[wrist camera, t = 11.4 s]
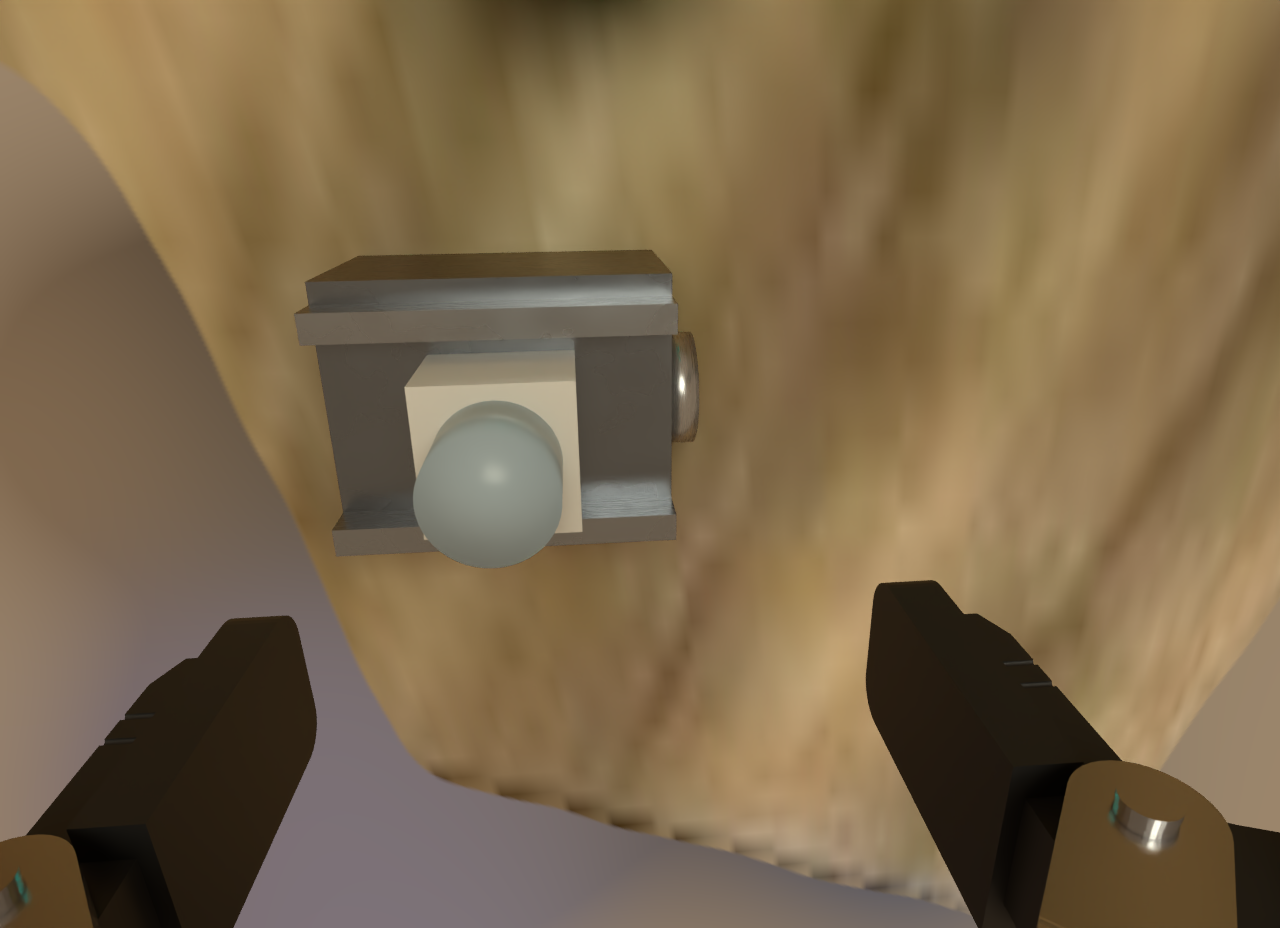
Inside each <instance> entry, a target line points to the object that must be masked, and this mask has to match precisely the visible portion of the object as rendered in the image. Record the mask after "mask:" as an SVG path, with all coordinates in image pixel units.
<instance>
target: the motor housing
mask: <svg viewBox="0 0 1280 928" xmlns="http://www.w3.org/2000/svg"><path fill="white" fill-rule="evenodd" d="M305 285H306V291H307V297H308V303H309V305H308V306H307V307H305V308H303V309H302V310H300V311H298V312H296V313H295V314H294V316H295V322H296V327H297V333H298V339H299V345H300V346H302V345H316V351H317V357H318V363H319V369H320V375H321V381H322V387H323V393H324V399H325V405H326V411H327V417H328V423H329V429H330V435H331V441H332V447H333V453H334V459H335V465H336V471H337V477H338V483H339V489H340V495H341V501H342V507H343V514H342V515H341V517H340V519H339V520H338V522H337V523H336V525H335V527H334V528H333V530H332V535H333V540H334V546H335V552H336V556H355V555H375V554H395V553H416V552H436V551H439V550H438V549H437V548H435V547H434V546H433V545H432V544H431V543H430V541H429V540H424V535H423V532H422V530H421V528H420V526H419V525H418V522H417V519H416V516H415V512H414V507H413V491H414V486H415V482H416V473H415V466H414V458H413V450H412V442H411V435H410V427H409V419H408V411H407V404H406V396H405V388H404V387H405V386H406V384H407V383H408V381H409V380H410V379H411V377H412V376H413V374H414V373H415V371H416V370H417V369H418V367H419V366H420V364H421V363H422V361H423V360H424V359H425V357H426V356H427V355H439V354H469V353H498V352H528V351H558V350H574V351H575V373H576V395H577V417H578V439H579V461H580V483H581V508H582V532H571V533H554V535H553V536H552V538H551V539H550V541H549V542H548V543H547V544H546V545H545V546H557V545H577V544H597V543H618V542H638V541H658V540H676V512H675V508H674V505H673V502H672V498H671V443H672V442H693V441H694V440H695V437H696V433H697V426H698V415H699V378H698V364H697V355H696V348H695V343H694V339H693V336H692V334H691V332H678V303H677V302H676V301H675V299H674V298H673V296H672V273H671V272H670V270H669V269H668V268H667V267H666V266H665V265H664V264H663V262H662V261H661V260H660V259H659V258H658V257H657V256H656V254H655V253H654V252H653V251H652V250H621V251H573V252H526V253H478V254H431V255H383V256H357V257H355V258H353V259H351V260H349V261H347V262H345V263H343V264H341V265H339V266H337V267H335V268H333V269H331V270H329V271H327V272H325V273H323V274H320V275H318V276H316V277H314V278H312V279H310V280H308V281H306V282H305Z"/></svg>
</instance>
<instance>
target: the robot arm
mask: <svg viewBox="0 0 1280 928" xmlns="http://www.w3.org/2000/svg"><path fill="white" fill-rule="evenodd" d="M866 691H867V698H868V704H869V708H870V711H871V715H872V718H873V720H874V722H875V724H876V726H877V728H878V730H879V732H880V734H881V736H882V738H883V740H884V742H885V744H886V746H887V748H888V750H889V752H890V754H891V756H892V758H893V760H894V762H895V764H896V766H897V768H898V770H899V772H900V774H901V776H902V778H903V780H904V782H905V784H906V786H907V788H908V790H909V792H910V794H911V796H912V798H913V800H914V802H915V804H916V806H917V808H918V810H919V812H920V814H921V816H922V818H923V820H924V822H925V824H926V826H927V828H928V829H929V831H930V833H931V835H932V837H933V839H934V841H935V843H936V845H937V847H938V849H939V851H940V853H941V855H942V857H943V859H944V861H945V863H946V865H947V867H948V869H949V871H950V873H951V875H952V877H953V879H954V881H955V883H956V885H957V887H958V889H959V891H960V893H961V895H962V897H963V899H964V901H965V903H966V905H967V907H968V909H969V911H970V913H971V915H972V917H973V919H974V921H975V923H976V925H977V927H978V928H1280V833H1279V832H1273V831H1268V830H1262V829H1256V828H1251V827H1245V826H1239V825H1235V824H1230V823H1227V822H1226V820H1225V819H1224V817H1223V816H1222V814H1221V813H1220V812H1219V811H1218V810H1217V809H1216V808H1215V807H1214V805H1213V804H1211V803H1210V802H1209V801H1208V800H1207V799H1206V798H1205V797H1204V796H1202V795H1201V794H1200V793H1198V792H1197V791H1196V790H1194V789H1193V788H1191V787H1190V786H1188V785H1187V784H1185V783H1183V782H1181V781H1179V780H1178V779H1176V778H1174V777H1172V776H1170V775H1168V774H1166V773H1163V772H1161V771H1158V770H1156V769H1153V768H1150V767H1147V766H1143V765H1140V764H1136V763H1130V762H1125V761H1122V760H1121V759H1120V758H1119V757H1118V756H1117V755H1116V753H1115V752H1114V751H1113V750H1112V749H1111V748H1110V747H1109V746H1108V744H1107V743H1106V742H1105V741H1104V740H1103V739H1102V738H1101V736H1100V735H1099V734H1098V733H1097V732H1096V731H1095V730H1094V728H1093V727H1092V726H1091V725H1090V724H1089V723H1088V722H1087V720H1086V719H1085V718H1084V717H1083V716H1082V715H1081V714H1080V713H1079V711H1078V710H1077V709H1076V708H1075V707H1074V706H1073V705H1072V703H1071V702H1070V701H1069V700H1068V699H1067V698H1066V697H1065V695H1064V694H1063V693H1062V692H1061V691H1060V690H1059V689H1058V687H1057V686H1054V687H1053V686H1052V681H1051V680H1050V678H1049V677H1048V676H1047V675H1046V674H1045V673H1044V672H1043V670H1042V669H1041V668H1040V667H1039V666H1038V665H1034V664H1033V659H1032V658H1031V657H1030V656H1029V654H1028V653H1027V652H1026V651H1025V650H1024V649H1023V648H1022V647H1021V645H1020V644H1019V643H1018V642H1017V641H1016V640H1015V639H1014V637H1013V636H1012V635H1011V634H1009V633H1008V632H1006V631H1005V630H1003V629H1001V628H1000V627H998V626H996V625H995V624H993V623H992V622H990V621H988V620H987V619H985V618H983V617H982V616H980V615H979V614H963V613H962V611H961V610H960V609H959V608H958V607H957V605H956V604H955V603H954V602H953V600H952V599H951V598H950V597H949V595H948V594H947V593H946V592H945V591H944V589H943V588H942V587H941V586H940V585H939V584H938V583H937V582H936V581H933V580H927V581H909V582H892V583H880V584H879V585H878V586H877V588H876V590H875V593H874V599H873V608H872V618H871V629H870V639H869V649H868V659H867V669H866ZM316 728H317V716H316V708H315V703H314V698H313V694H312V690H311V685H310V681H309V676H308V672H307V668H306V663H305V659H304V654H303V649H302V645H301V640H300V636H299V632H298V628H297V625H296V623H295V622H294V620H293V619H292V618H291V617H290V616H270V617H252V618H235V619H230V620H228V621H226V622H225V623H224V624H223V625H222V627H221V628H220V629H219V631H218V632H217V633H216V635H215V636H214V637H213V639H212V640H211V641H210V642H209V644H208V645H207V646H206V648H205V649H204V650H203V651H202V653H201V654H200V656H199V657H198V658H192V659H185V660H184V661H182V662H181V663H179V664H178V665H176V666H175V667H174V668H172V669H171V670H169V671H168V672H167V673H165V674H164V675H162V676H161V677H160V678H158V679H157V680H155V681H154V682H152V683H151V684H150V685H149V686H148V687H147V688H146V689H145V691H144V692H143V693H142V694H141V695H140V697H139V698H138V699H137V700H136V702H135V703H134V704H133V705H132V707H131V708H130V709H129V710H128V711H127V713H126V714H125V720H120V721H119V722H118V723H117V725H116V726H115V727H114V728H113V730H112V731H111V732H110V733H109V735H108V736H107V737H106V738H105V744H104V745H103V746H99V747H98V748H97V749H96V750H95V752H94V753H93V754H92V756H91V757H90V758H89V759H88V760H87V761H86V763H85V764H84V765H83V766H82V767H81V769H80V770H79V771H78V772H77V774H76V775H75V776H74V777H73V778H72V780H71V781H70V782H69V783H68V785H67V786H66V787H65V788H64V789H63V791H62V792H61V793H60V794H59V796H58V797H57V798H56V799H55V801H54V802H53V803H52V804H51V806H50V807H49V808H48V809H47V810H46V811H45V813H44V814H43V815H42V816H41V818H40V819H39V820H38V821H37V822H36V824H35V825H34V826H33V827H32V829H31V830H30V831H29V832H28V833H27V835H26V836H22V837H17V838H12V839H9V840H5V841H3V842H0V928H233V927H234V925H235V923H236V921H237V919H238V916H239V914H240V912H241V910H242V908H243V905H244V903H245V901H246V899H247V896H248V894H249V892H250V890H251V888H252V886H253V883H254V881H255V879H256V877H257V874H258V872H259V870H260V868H261V866H262V863H263V861H264V859H265V857H266V855H267V853H268V850H269V848H270V846H271V844H272V841H273V839H274V837H275V835H276V833H277V830H278V828H279V826H280V824H281V822H282V819H283V817H284V815H285V813H286V811H287V808H288V806H289V804H290V802H291V800H292V797H293V795H294V793H295V791H296V789H297V786H298V784H299V782H300V780H301V778H302V775H303V773H304V771H305V769H306V767H307V764H308V762H309V760H310V758H311V755H312V752H313V749H314V744H315V739H316V730H317V729H316Z"/></svg>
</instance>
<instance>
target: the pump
mask: <svg viewBox="0 0 1280 928" xmlns="http://www.w3.org/2000/svg"><path fill="white" fill-rule="evenodd" d="M404 388H405V396H406V404H407V411H408V419H409V427H410V435H411V442H412V450H413V458H414V466H415V473H416V482H415V486H414V491H413V507H414V512H415V516H416V519H417V522H418V525H419V526H420V528H421V530H422V532H423V535H424V540H429V541H430V543H431V544H432V545H433V546H434V547H435V548H437V549H438V550H439V551H440V552H441V553H443V554H444V555H446V556H447V557H449V558H451V559H453V560H455V561H457V562H460V563H462V564H465V565H469V566H473V567H479V568H501V567H507V566H511V565H515V564H517V563H520V562H523V561H525V560H527V559H528V558H530V557H532V556H533V555H535V554H536V553H538V552H539V551H540V550H541V549H542V548H543V547H544V546H545V545H546V544H547V543H548V542H549V541H550V539H551V538H552V536H553V535H554V533H571V532H582V508H581V483H580V461H579V439H578V417H577V395H576V373H575V351H574V350H558V351H528V352H498V353H469V354H439V355H427V356H426V357H425V359H424V360H423V361H422V363H421V364H420V366H419V367H418V369H417V370H416V371H415V373H414V374H413V376H412V377H411V379H410V380H409V381H408V383H407V384H406V386H405V387H404Z"/></svg>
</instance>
